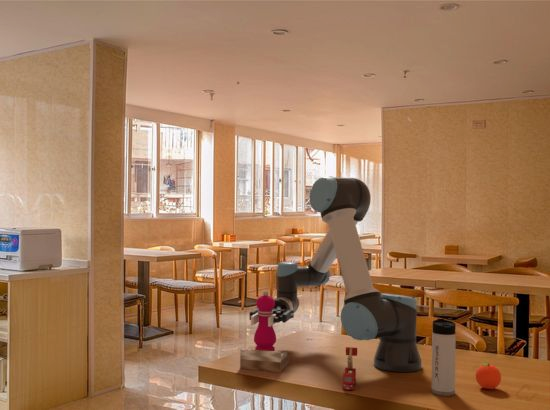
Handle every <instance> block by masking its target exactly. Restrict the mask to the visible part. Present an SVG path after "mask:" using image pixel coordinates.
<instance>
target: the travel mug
mask: <svg viewBox="0 0 550 410" xmlns="http://www.w3.org/2000/svg"><path fill="white" fill-rule="evenodd" d="M456 327H457V326H456V323H455V322H454V321H452V320H449V319H444V318H437V319H435V320H433V321H432V333H431V339H432V340H431V348H432V349H431V392H432V394H435V395H437V396H441V397H442V396H443V397H451V395H452V396H454V395H455V394H456V347H457V346H456V344H457V343H456V341H457V340H456V339H457V338H456V335H457V334H456V333H457V332H456Z"/></svg>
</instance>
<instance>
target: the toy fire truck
mask: <svg viewBox="0 0 550 410" xmlns="http://www.w3.org/2000/svg"><path fill="white" fill-rule="evenodd" d="M345 356H347V360H346V362H347V367H345V369H344V372H343V375H342V389H343V390H349V391H351V390H353V391H354V390H355V389H356V388H355V385H356V383H357V377H356V374H357V369H356V367H355V368H354V367H353V366H354V365H353V357H357V356H358V347H352V346H351V347H350V346H349V347H347V346H346V347H345Z"/></svg>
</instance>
